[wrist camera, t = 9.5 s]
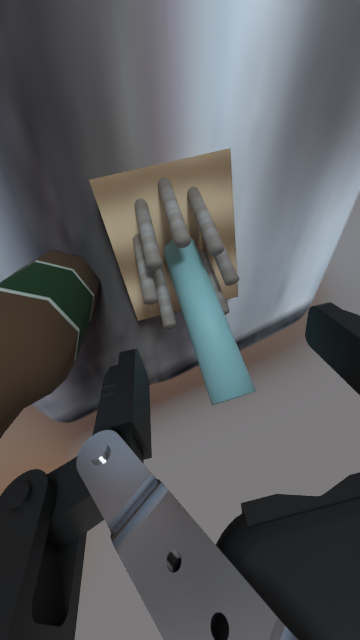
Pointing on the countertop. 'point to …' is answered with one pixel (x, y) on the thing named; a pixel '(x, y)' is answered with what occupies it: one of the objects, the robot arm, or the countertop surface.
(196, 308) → the peg
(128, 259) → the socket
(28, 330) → the beer bottle
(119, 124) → the countertop surface
